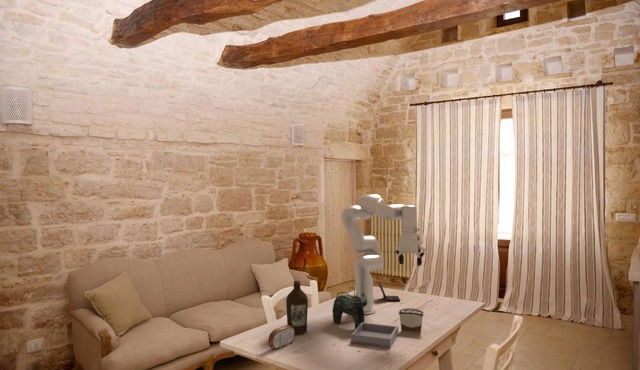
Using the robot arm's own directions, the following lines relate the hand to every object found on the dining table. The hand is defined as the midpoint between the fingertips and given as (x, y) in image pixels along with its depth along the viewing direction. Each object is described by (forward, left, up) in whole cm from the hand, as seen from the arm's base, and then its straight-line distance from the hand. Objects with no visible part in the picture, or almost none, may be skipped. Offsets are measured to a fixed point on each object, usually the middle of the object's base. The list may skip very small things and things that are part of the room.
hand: (410, 264), depth 225 cm
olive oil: (-51, -24, -32) cm, 65 cm away
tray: (-13, -20, -32) cm, 40 cm away
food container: (+1, -2, -32) cm, 32 cm away
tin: (-50, -43, -32) cm, 73 cm away
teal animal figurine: (-30, -7, -32) cm, 44 cm away
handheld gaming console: (-21, +48, -32) cm, 62 cm away
